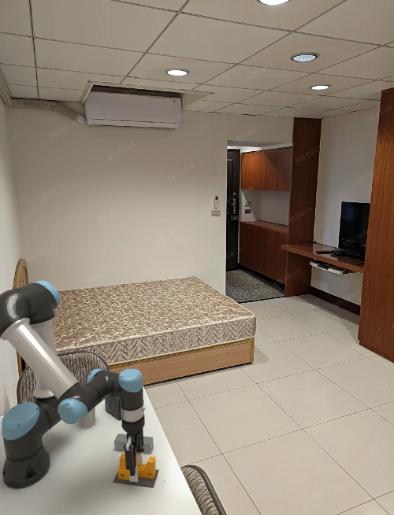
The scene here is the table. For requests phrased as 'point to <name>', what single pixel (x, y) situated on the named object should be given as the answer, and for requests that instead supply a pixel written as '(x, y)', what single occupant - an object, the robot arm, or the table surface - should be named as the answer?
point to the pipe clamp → (143, 470)
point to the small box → (113, 407)
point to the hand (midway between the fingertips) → (136, 474)
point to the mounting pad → (141, 481)
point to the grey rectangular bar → (122, 440)
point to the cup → (88, 420)
